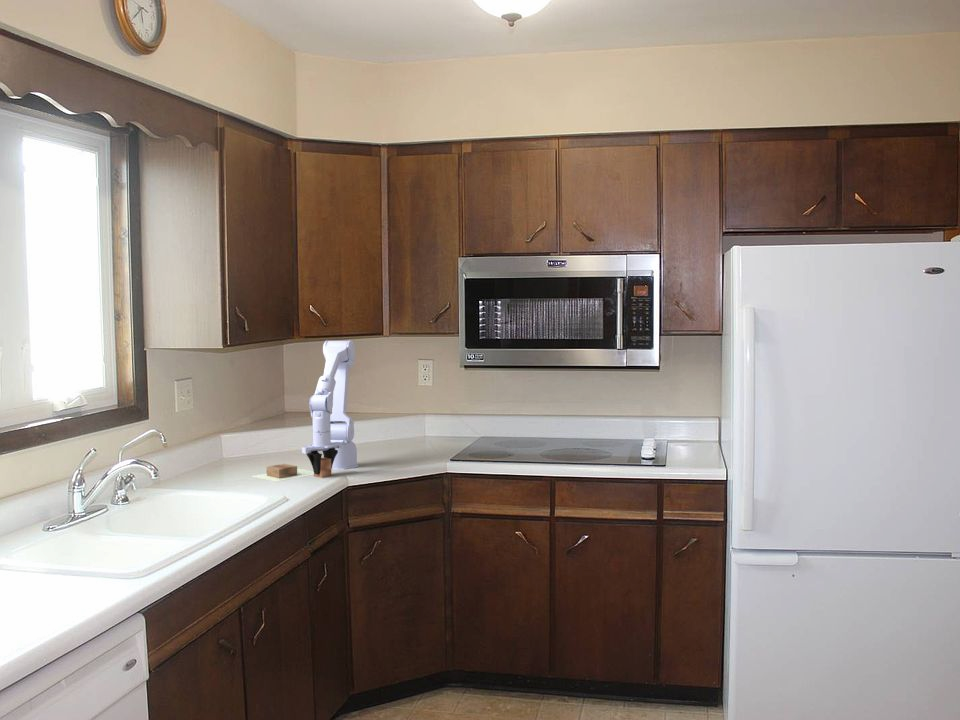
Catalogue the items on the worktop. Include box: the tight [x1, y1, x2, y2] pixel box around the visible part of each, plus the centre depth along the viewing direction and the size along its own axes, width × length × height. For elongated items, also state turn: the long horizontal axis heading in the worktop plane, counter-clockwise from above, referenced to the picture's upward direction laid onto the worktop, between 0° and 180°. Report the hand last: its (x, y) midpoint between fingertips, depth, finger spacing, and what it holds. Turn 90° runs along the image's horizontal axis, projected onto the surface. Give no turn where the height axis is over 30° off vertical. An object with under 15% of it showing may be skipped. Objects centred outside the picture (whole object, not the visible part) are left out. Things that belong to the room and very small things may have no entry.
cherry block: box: [313, 456, 332, 479], centre depth 269 cm, size 4×4×6 cm
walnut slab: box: [265, 463, 298, 479], centre depth 270 cm, size 7×7×3 cm
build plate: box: [251, 467, 314, 483], centre depth 272 cm, size 18×14×1 cm
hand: (322, 472), depth 269 cm, fingers closed on cherry block, 4 cm apart
